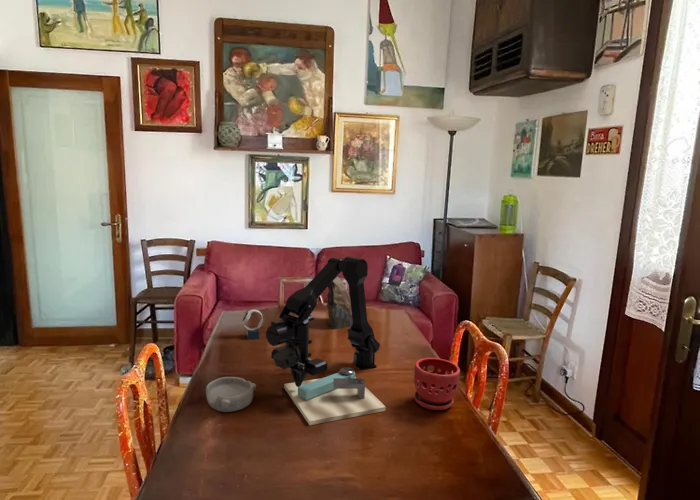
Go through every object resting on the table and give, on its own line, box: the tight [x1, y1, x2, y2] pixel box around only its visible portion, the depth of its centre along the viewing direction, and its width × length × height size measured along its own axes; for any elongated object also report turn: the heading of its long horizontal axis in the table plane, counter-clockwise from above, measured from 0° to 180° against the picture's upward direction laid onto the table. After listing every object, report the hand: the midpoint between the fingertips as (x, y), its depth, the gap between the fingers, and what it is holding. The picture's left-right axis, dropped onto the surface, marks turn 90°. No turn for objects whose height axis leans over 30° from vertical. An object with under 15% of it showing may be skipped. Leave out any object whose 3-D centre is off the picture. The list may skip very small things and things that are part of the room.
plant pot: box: [413, 357, 461, 411], centre depth 149 cm, size 13×13×12 cm
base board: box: [283, 376, 387, 426], centre depth 150 cm, size 23×24×1 cm
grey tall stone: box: [326, 275, 353, 330], centre depth 217 cm, size 13×13×20 cm
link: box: [298, 370, 356, 400], centre depth 154 cm, size 21×5×2 cm, turn 134°
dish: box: [205, 376, 257, 413], centre depth 147 cm, size 14×14×5 cm
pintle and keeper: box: [333, 366, 366, 399], centre depth 154 cm, size 14×9×5 cm, turn 4°
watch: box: [241, 309, 264, 341], centre depth 198 cm, size 6×8×11 cm
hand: (298, 386), depth 152 cm, fingers closed
